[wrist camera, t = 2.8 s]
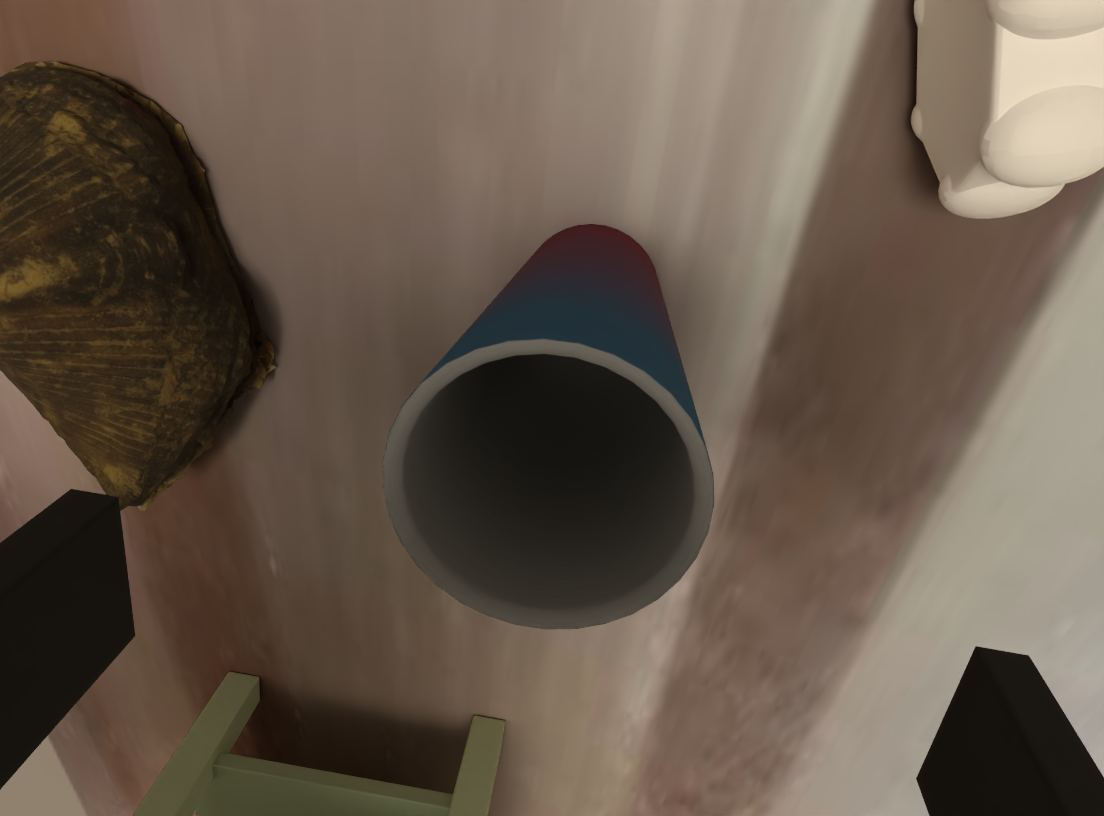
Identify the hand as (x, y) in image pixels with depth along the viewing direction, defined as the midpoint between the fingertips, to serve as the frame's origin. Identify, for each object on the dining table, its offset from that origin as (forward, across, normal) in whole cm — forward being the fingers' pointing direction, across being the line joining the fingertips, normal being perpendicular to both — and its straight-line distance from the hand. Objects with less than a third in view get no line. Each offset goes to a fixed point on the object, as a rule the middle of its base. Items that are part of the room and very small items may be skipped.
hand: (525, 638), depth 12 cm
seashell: (+19, -17, -2) cm, 26 cm away
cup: (+19, 0, 0) cm, 19 cm away
